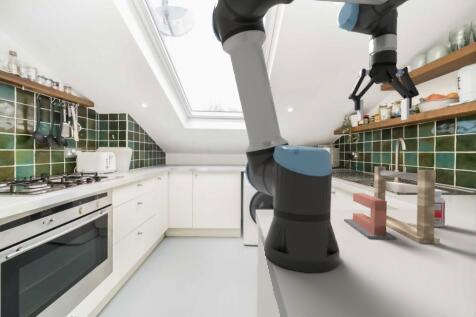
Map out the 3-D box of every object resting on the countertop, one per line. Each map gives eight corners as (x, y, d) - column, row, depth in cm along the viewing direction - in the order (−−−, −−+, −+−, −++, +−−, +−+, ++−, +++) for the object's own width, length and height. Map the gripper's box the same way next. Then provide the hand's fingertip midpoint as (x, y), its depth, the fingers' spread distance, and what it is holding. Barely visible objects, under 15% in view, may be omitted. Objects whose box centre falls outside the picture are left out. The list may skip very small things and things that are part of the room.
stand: (418, 242, 55) (419, 170, 55) (370, 217, 78) (370, 166, 78) (439, 243, 54) (440, 170, 54) (384, 217, 78) (385, 166, 78)
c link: (386, 235, 58) (386, 201, 58) (374, 235, 58) (374, 200, 58) (362, 221, 71) (362, 193, 71) (352, 221, 71) (353, 193, 71)
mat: (368, 238, 57) (368, 236, 57) (344, 220, 73) (344, 219, 73) (396, 239, 57) (396, 237, 57) (366, 221, 73) (366, 219, 73)
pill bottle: (428, 221, 74) (429, 188, 74) (450, 227, 68) (450, 191, 68) (414, 222, 73) (414, 188, 73) (434, 228, 67) (434, 191, 67)
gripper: (416, 57, 74) (416, 121, 74) (338, 60, 76) (338, 122, 76) (433, 46, 66) (433, 117, 66) (346, 50, 69) (346, 118, 69)
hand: (382, 120), depth 71 cm, fingers open, 13 cm apart
